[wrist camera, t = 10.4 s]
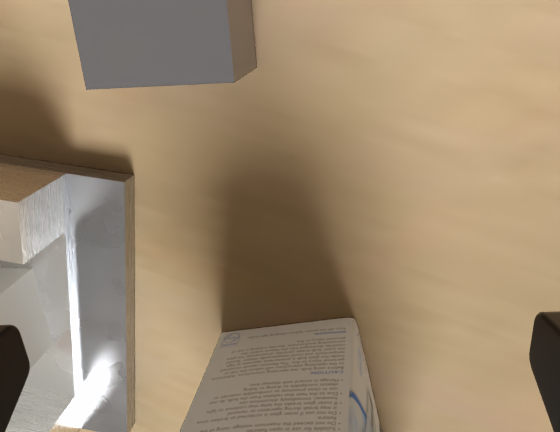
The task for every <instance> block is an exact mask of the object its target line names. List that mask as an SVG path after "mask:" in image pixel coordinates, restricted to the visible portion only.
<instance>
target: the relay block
mask: <svg viewBox="0 0 560 432" xmlns="http://www.w3.org/2000/svg"><path fill="white" fill-rule="evenodd" d="M68 2H69V7H70V12H71V16H72V21H73V26H74V31H75V36H76V41H77V46H78V51H79V56H80V61H81V66H82V71H83V76H84V81H85V86H86V90H89V89H110V88H131V87H151V86H172V85H193V84H213V83H234V82H236V81H237V80H239V79H240V78H242V77H243V76H245V75H246V74H248V73H249V72H251V71H252V70H254V69H255V68H257V62H256V50H255V37H254V25H253V12H252V0H68Z"/></svg>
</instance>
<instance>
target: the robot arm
mask: <svg viewBox="0 0 560 432" xmlns="http://www.w3.org/2000/svg"><path fill="white" fill-rule="evenodd" d="M529 356H530V364H531V368H532V371H533V374H534V377H535V379H536V382H537V385H538V388H539V391H540V394H541V396H542V399H543V402H544V405H545V408H546V411H547V413H548V416H549V419H550V422H551V425H552V428H553V431H554V432H560V312H540V313H539V314H537V315H536V317H535V320H534V326H533V333H532V339H531V346H530V353H529ZM29 370H30V362H29V358H28V355H27V352H26V349H25V346H24V343H23V340H22V337H21V334H20V331H19V329H18V328H17V327H16V326H14V325H0V432H5V431H6V429H7V426H8V424H9V421H10V419H11V417H12V414H13V412H14V409H15V407H16V404H17V402H18V400H19V397H20V395H21V392H22V390H23V387H24V385H25V383H26V380H27V378H28V375H29Z"/></svg>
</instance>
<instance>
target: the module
mask: <svg viewBox="0 0 560 432" xmlns="http://www.w3.org/2000/svg"><path fill="white" fill-rule="evenodd" d="M0 325H14V326H16V327H17V328H18V329H19V331H20V334H21V337H22V340H23V343H24V346H25V349H26V352H27V355H28V358H29V362H30V369H31V368H32V367H33V366H34V364H35V363H36V362H37V361H38V360H39V359H40V358H41V357H42V356H43V354H44V353H45V352H46V351H47V350H48V349H49V348H50V347H51V345H52V344H53V341H52V337H51V333H50V330H49V326H48V323H47V319H46V315H45V312H44V308H43V304H42V301H41V297H40V294H39V290H38V286H37V283H36V279H35V276H34V272H33V268H0Z"/></svg>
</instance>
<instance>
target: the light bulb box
mask: <svg viewBox="0 0 560 432" xmlns="http://www.w3.org/2000/svg"><path fill="white" fill-rule="evenodd" d="M180 432H381V427H380V423H379V418H378V414H377V409H376V404H375V400H374V396H373V391H372V387H371V382H370V378H369V373H368V368H367V364H366V360H365V355H364V351H363V347H362V343H361V338H360V334H359V330H358V326H357V323H356V320H355V319H353V318H339V319H330V320H321V321H314V322H305V323H297V324H288V325H280V326H272V327H263V328H255V329H247V330H238V331H230V332H222V333H221V335H220V337H219V340H218V342H217V345H216V347H215V349H214V352H213V354H212V357H211V359H210V362H209V364H208V366H207V369H206V371H205V373H204V376H203V378H202V381H201V383H200V386H199V388H198V390H197V392H196V395H195V397H194V399H193V402H192V404H191V406H190V409H189V411H188V413H187V416H186V418H185V420H184V423H183V425H182V427H181V429H180Z"/></svg>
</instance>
